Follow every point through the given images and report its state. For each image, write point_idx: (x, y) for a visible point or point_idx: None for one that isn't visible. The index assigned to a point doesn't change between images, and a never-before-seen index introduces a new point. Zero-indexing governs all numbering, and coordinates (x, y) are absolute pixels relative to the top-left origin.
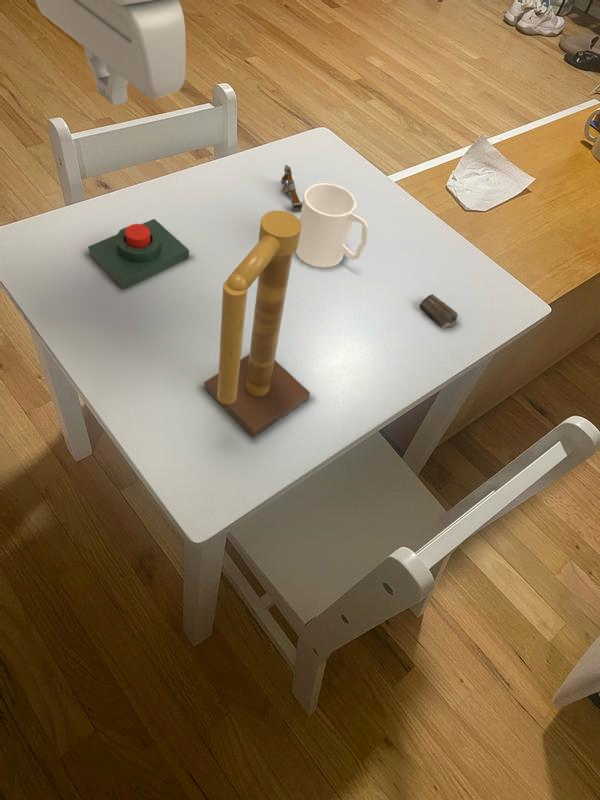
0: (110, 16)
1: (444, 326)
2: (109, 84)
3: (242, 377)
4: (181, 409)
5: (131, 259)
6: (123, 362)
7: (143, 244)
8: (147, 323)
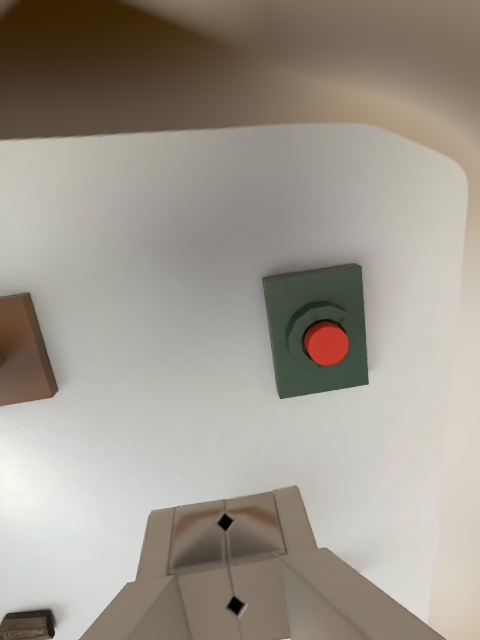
0: None
1: (3, 618)
2: (136, 604)
3: (8, 347)
4: (5, 246)
5: (297, 313)
6: (123, 211)
7: (305, 342)
8: (181, 278)
